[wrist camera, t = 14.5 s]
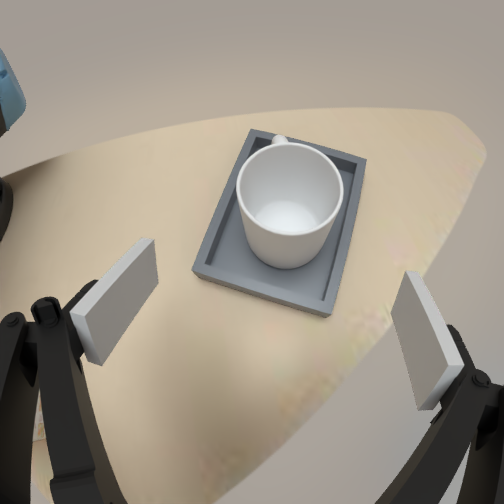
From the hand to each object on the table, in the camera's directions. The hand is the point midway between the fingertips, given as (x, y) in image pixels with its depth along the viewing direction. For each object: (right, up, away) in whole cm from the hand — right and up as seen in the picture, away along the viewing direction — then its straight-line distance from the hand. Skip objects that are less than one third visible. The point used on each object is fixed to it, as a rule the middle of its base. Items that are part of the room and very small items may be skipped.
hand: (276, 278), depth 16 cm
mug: (+2, +5, +18) cm, 19 cm away
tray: (+3, +5, +19) cm, 20 cm away
